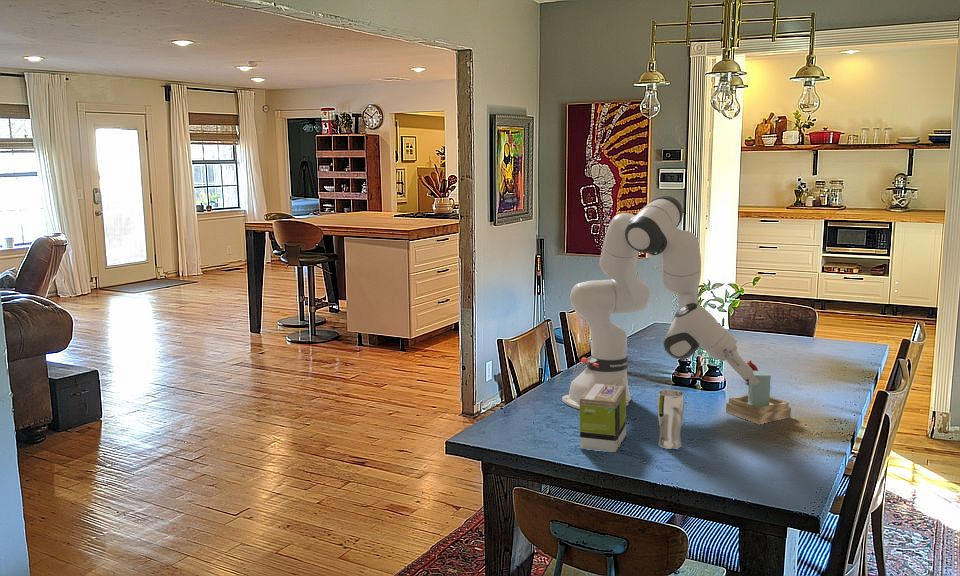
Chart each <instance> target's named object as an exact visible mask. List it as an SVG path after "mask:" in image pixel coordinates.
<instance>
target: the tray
mask: <svg viewBox="0 0 960 576" xmlns="http://www.w3.org/2000/svg"><path fill="white" fill-rule="evenodd" d="M725 405H726V406H725V413H727V414H730V415H732V416H734V417H737V418H740V419H742V418H743V419H742V420H745V419H746V420H745V421H747V420H748V422H750V421H751V423H753V424H755V423H756V424H755V425H759V426H760V424H761V425H764V423H765V424H768V422H769V423H772V421H773V422H777V420H778V421H782V420H785V418H786V419H789V418H791V416H792V415H791V413H792V407H789V405H790V404H789V402H788V401H784V400H781V399H779V398H775V397H773V396H770V398H769V406H765V407H761V408H759V407H756V406H753V405H750V404H749V403H748V393H746V394H743V395H739V396H733V397H730V398H728V402H726V403H725ZM781 419H782V420H781Z"/></svg>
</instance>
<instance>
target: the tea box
mask: <svg viewBox="0 0 960 576" xmlns="http://www.w3.org/2000/svg"><path fill="white" fill-rule="evenodd" d="M626 436H627V406H626V386H618V385H605V384H594V383H593V384H592V385H591V386H590V387H589V388H588V390H587V391H586V392H585V393H584V395H583V396H582V397H581V398H580V409H579V449H580V448H586V449H594V450H602V451H610V452H616V453H617V451H618V449H619V448H620V446H621V445H622V443H623V441H624V439H625V437H626ZM621 442H622V443H621ZM618 447H619V448H618ZM616 450H617V451H616Z"/></svg>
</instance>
